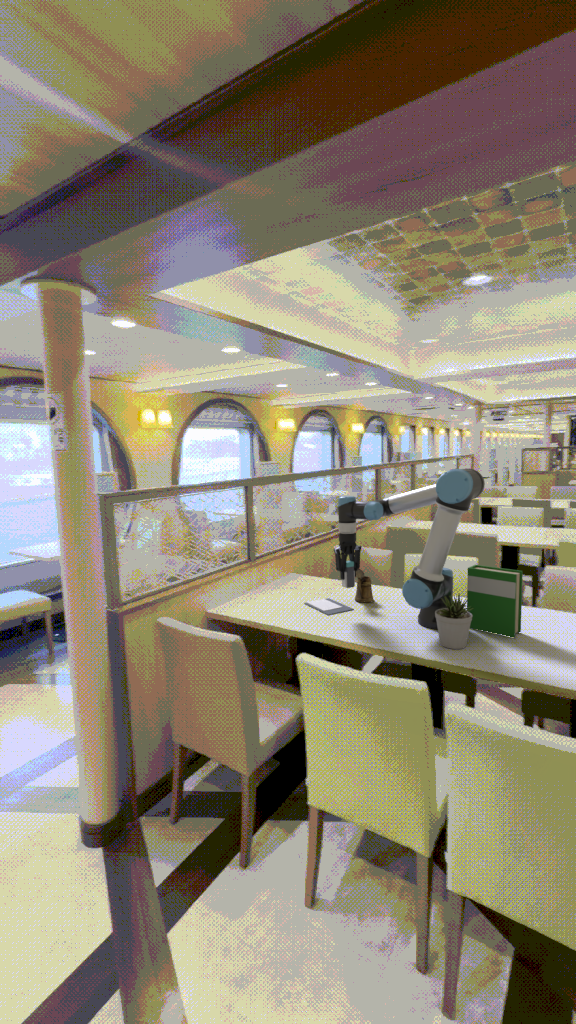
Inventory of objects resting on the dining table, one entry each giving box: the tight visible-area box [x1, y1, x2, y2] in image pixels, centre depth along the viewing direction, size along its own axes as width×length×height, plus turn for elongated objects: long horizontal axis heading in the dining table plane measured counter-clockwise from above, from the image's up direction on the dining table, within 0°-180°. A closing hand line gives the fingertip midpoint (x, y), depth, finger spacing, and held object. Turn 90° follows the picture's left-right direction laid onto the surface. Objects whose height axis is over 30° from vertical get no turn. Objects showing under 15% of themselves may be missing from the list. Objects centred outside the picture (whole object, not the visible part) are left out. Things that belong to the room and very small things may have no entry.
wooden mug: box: [354, 568, 374, 604], centre depth 215 cm, size 9×14×18 cm, turn 145°
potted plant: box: [435, 593, 473, 650], centre depth 161 cm, size 13×14×20 cm
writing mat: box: [303, 597, 355, 616], centre depth 209 cm, size 20×14×1 cm
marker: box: [345, 560, 355, 589], centre depth 195 cm, size 4×4×11 cm
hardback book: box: [466, 564, 523, 638], centre depth 174 cm, size 18×7×24 cm, turn 46°
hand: (348, 585), depth 196 cm, fingers closed on marker, 3 cm apart
